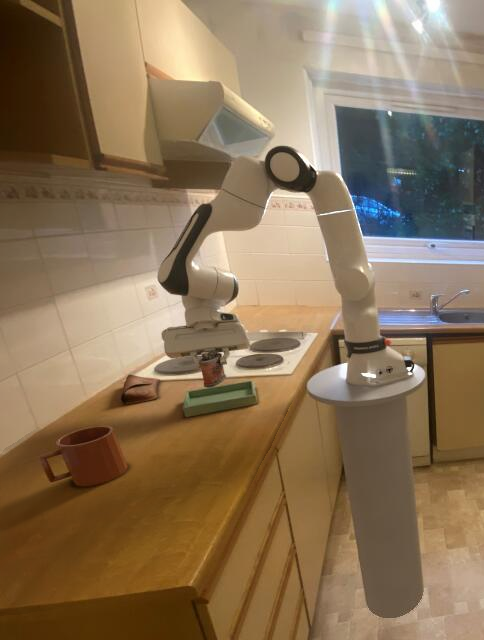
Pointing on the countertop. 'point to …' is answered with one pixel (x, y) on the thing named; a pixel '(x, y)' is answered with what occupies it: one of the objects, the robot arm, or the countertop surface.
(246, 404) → the tray
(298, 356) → the countertop surface
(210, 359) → the lighter
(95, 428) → the mug
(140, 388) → the sunglasses case
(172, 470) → the countertop surface
